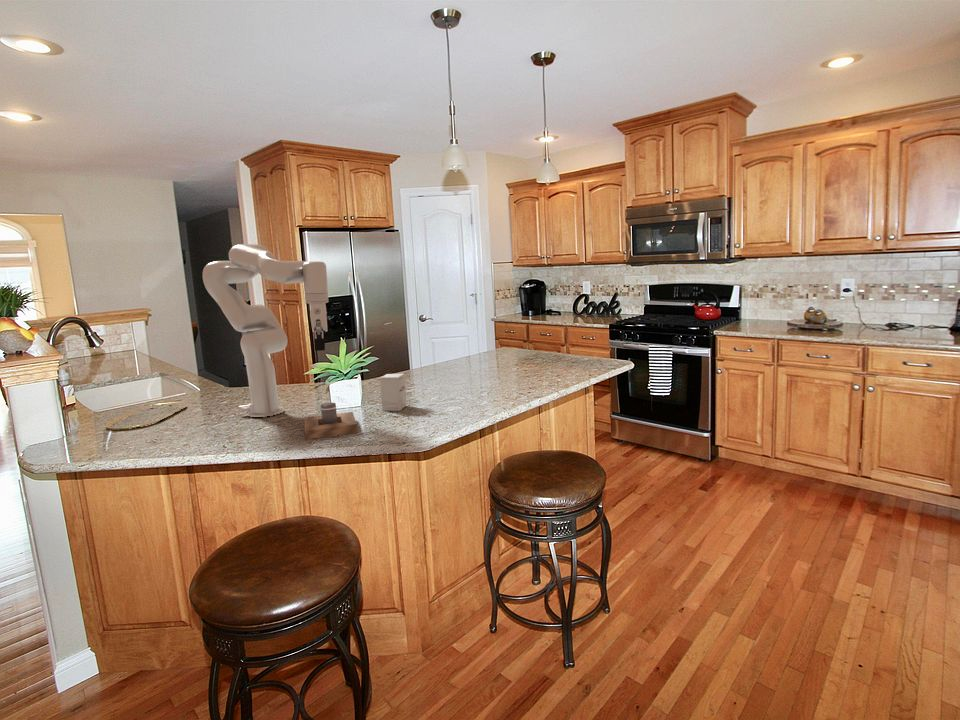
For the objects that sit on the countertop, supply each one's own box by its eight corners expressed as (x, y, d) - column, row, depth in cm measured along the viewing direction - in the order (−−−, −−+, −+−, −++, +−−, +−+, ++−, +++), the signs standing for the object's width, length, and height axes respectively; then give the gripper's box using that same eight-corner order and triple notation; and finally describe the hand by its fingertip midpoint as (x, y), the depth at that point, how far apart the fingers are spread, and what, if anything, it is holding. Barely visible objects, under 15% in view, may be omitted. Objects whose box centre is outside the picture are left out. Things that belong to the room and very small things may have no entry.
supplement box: (400, 411, 195) (398, 377, 193) (381, 410, 197) (378, 377, 195) (407, 405, 202) (404, 373, 200) (388, 405, 204) (386, 373, 202)
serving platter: (93, 433, 187) (93, 429, 187) (150, 407, 222) (149, 403, 221) (148, 430, 188) (147, 426, 187) (195, 404, 222) (195, 401, 222)
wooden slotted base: (305, 440, 167) (304, 430, 166) (305, 426, 182) (304, 417, 181) (357, 432, 171) (356, 423, 171) (353, 420, 186) (352, 411, 186)
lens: (323, 430, 173) (320, 407, 172) (322, 426, 178) (320, 403, 176) (338, 428, 175) (336, 405, 173) (337, 424, 179) (335, 401, 178)
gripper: (328, 300, 174) (331, 351, 177) (328, 296, 190) (331, 343, 193) (304, 300, 172) (308, 352, 175) (305, 296, 188) (309, 344, 191)
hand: (320, 348), depth 184 cm, fingers open, 9 cm apart
